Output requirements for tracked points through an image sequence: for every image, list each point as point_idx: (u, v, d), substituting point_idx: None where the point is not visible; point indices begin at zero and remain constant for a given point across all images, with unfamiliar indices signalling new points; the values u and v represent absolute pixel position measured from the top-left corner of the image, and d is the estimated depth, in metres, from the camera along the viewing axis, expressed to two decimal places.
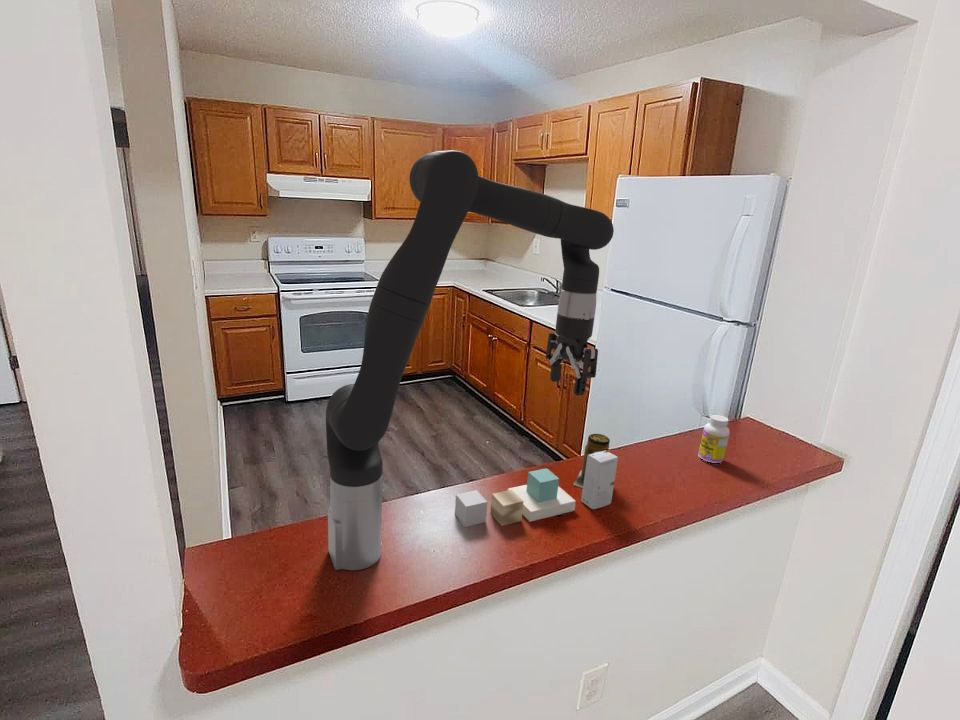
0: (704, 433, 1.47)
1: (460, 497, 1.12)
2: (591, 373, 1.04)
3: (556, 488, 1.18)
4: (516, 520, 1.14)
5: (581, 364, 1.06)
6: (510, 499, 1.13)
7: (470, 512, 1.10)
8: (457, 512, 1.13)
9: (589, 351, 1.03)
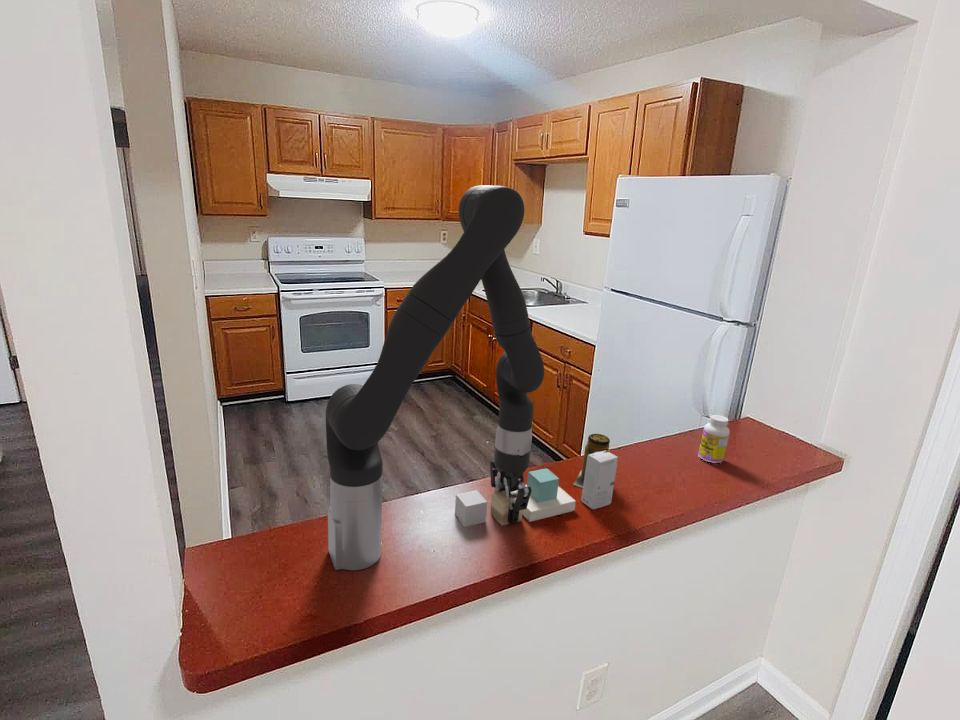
0: (704, 433, 1.47)
1: (460, 497, 1.12)
2: (522, 506, 1.09)
3: (556, 488, 1.18)
4: None
5: (515, 496, 1.11)
6: None
7: (470, 512, 1.10)
8: (457, 512, 1.13)
9: (522, 492, 1.06)
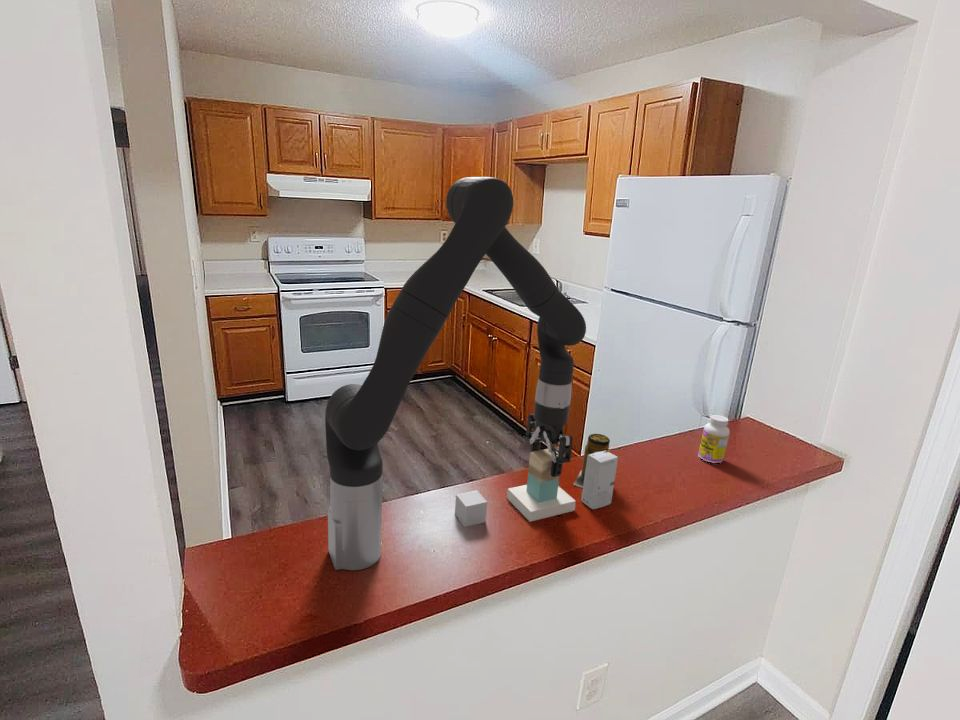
0: (704, 433, 1.47)
1: (460, 497, 1.12)
2: (566, 458, 1.11)
3: (556, 488, 1.18)
4: (554, 477, 1.17)
5: (557, 448, 1.13)
6: (549, 457, 1.16)
7: (469, 512, 1.10)
8: (457, 512, 1.13)
9: (564, 439, 1.09)
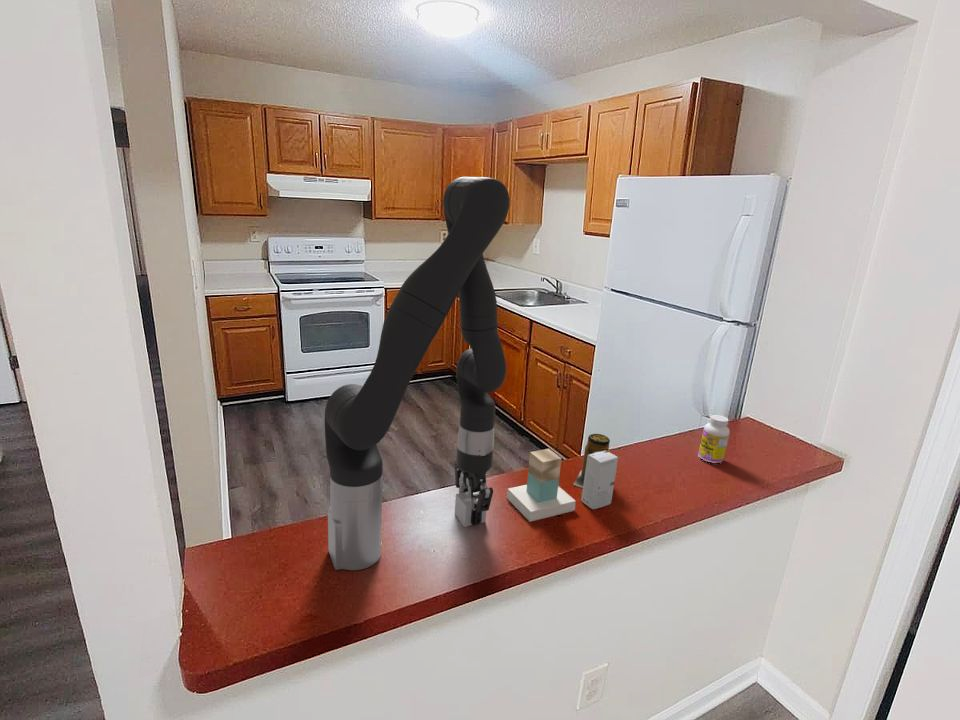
0: (704, 433, 1.47)
1: (460, 497, 1.12)
2: (484, 507, 1.08)
3: (556, 488, 1.18)
4: (554, 477, 1.17)
5: (478, 497, 1.09)
6: (549, 457, 1.16)
7: (469, 512, 1.10)
8: (457, 512, 1.13)
9: (484, 493, 1.05)
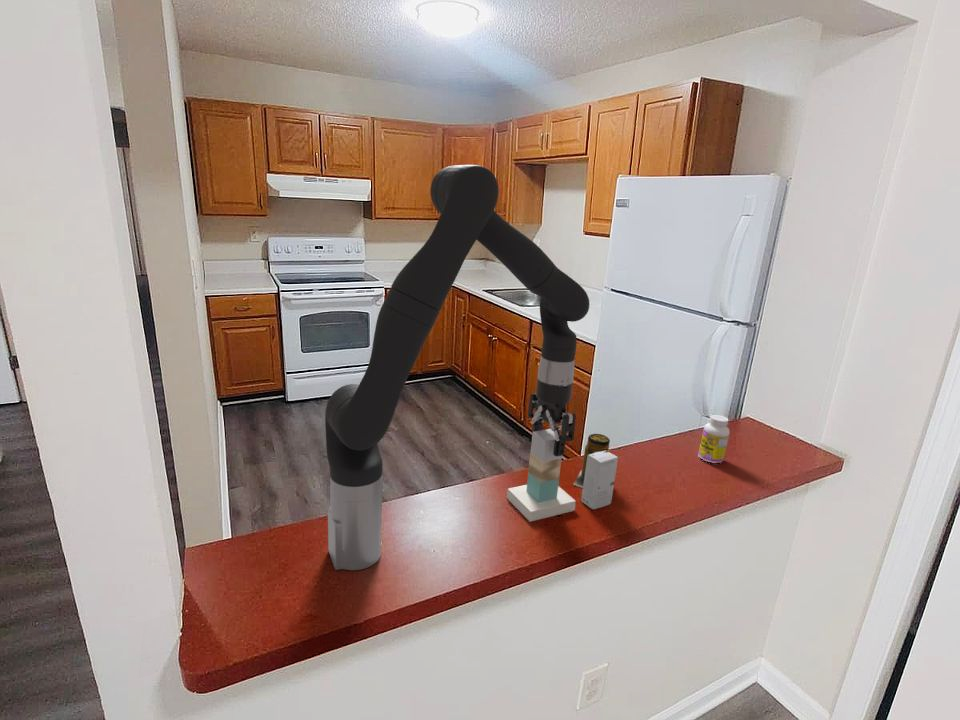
0: (704, 433, 1.47)
1: (537, 434, 1.16)
2: (569, 437, 1.09)
3: (556, 488, 1.18)
4: (554, 477, 1.17)
5: (560, 427, 1.11)
6: None
7: (548, 447, 1.14)
8: (534, 449, 1.17)
9: (567, 417, 1.08)
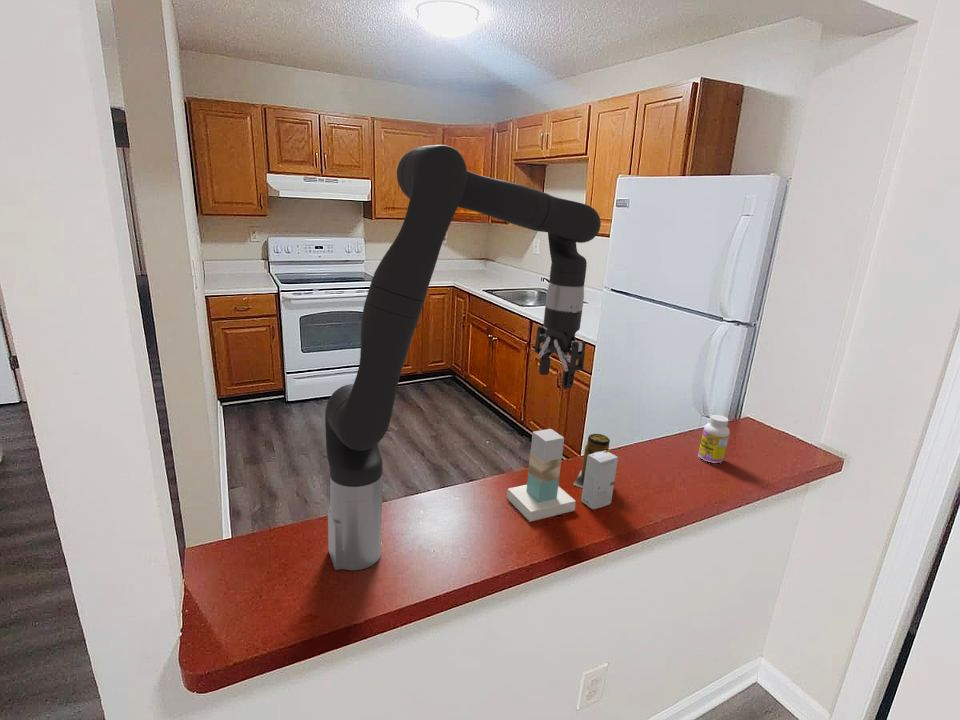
0: (704, 433, 1.47)
1: (537, 434, 1.16)
2: (579, 366, 1.05)
3: (556, 488, 1.18)
4: (554, 477, 1.17)
5: (569, 357, 1.07)
6: None
7: (548, 447, 1.14)
8: (534, 449, 1.17)
9: (576, 344, 1.03)
